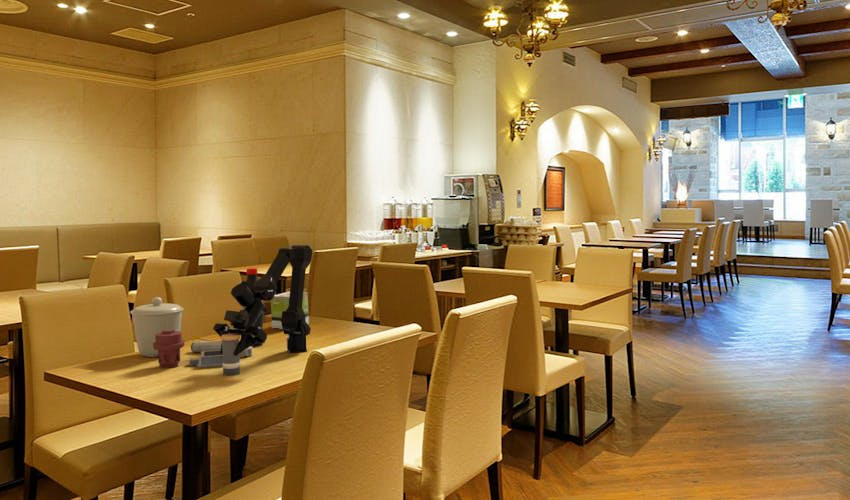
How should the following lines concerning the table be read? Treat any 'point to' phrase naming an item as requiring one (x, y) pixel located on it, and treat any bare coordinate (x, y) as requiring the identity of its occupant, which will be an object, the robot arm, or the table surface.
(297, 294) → the robot arm
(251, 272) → the cola bottle
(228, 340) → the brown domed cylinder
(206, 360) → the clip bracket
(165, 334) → the mechanical component
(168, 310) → the canister
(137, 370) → the table surface
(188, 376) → the table surface
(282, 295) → the tea box
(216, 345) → the light grey elongated piece
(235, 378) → the table surface
